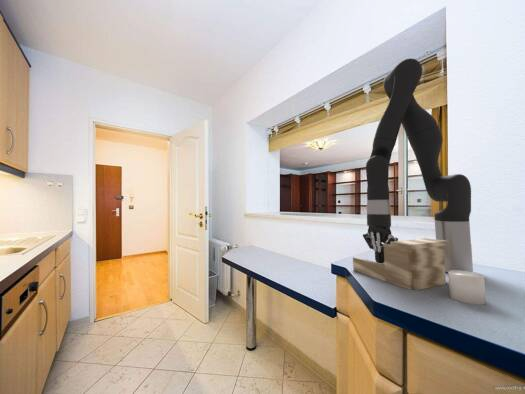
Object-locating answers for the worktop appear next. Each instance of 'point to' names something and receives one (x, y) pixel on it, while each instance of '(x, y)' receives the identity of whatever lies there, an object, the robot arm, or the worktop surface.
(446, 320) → the worktop surface
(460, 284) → the cream rounded block
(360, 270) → the wooden stepped block
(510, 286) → the worktop surface
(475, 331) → the worktop surface
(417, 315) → the worktop surface
